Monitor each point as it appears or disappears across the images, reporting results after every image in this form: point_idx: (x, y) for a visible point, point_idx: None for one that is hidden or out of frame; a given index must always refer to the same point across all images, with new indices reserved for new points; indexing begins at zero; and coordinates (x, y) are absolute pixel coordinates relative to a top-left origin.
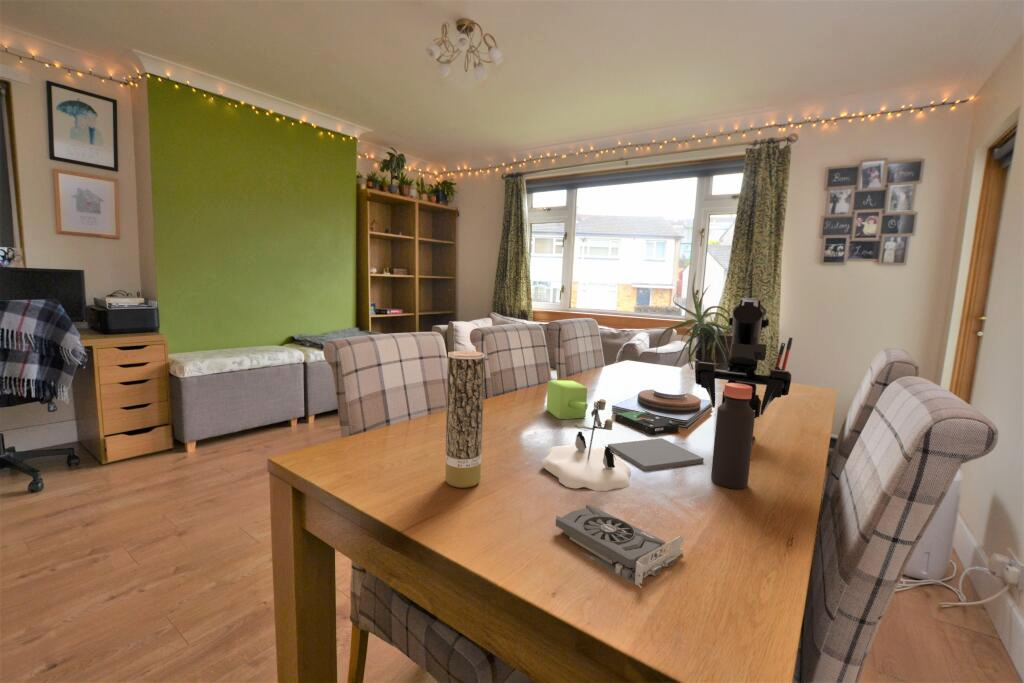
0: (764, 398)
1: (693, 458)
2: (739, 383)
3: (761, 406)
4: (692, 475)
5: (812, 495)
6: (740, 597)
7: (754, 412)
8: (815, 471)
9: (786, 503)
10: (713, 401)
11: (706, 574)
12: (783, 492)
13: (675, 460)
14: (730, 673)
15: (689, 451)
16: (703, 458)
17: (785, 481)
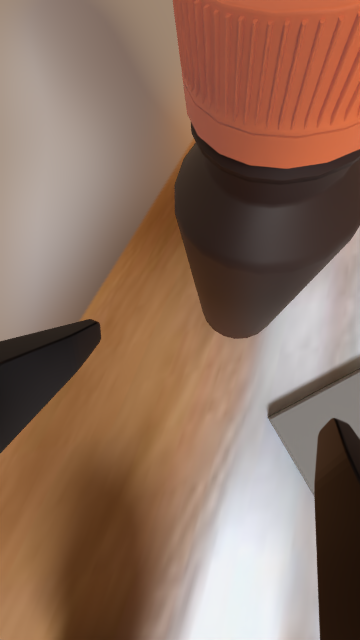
0: (14, 353)
1: (300, 412)
2: (280, 11)
3: (75, 332)
4: (311, 326)
5: (104, 284)
6: None
7: (184, 158)
8: None
9: (163, 242)
10: (354, 442)
11: None
12: (147, 284)
13: (355, 386)
14: None
15: (302, 474)
16: (270, 418)
17: (119, 337)
